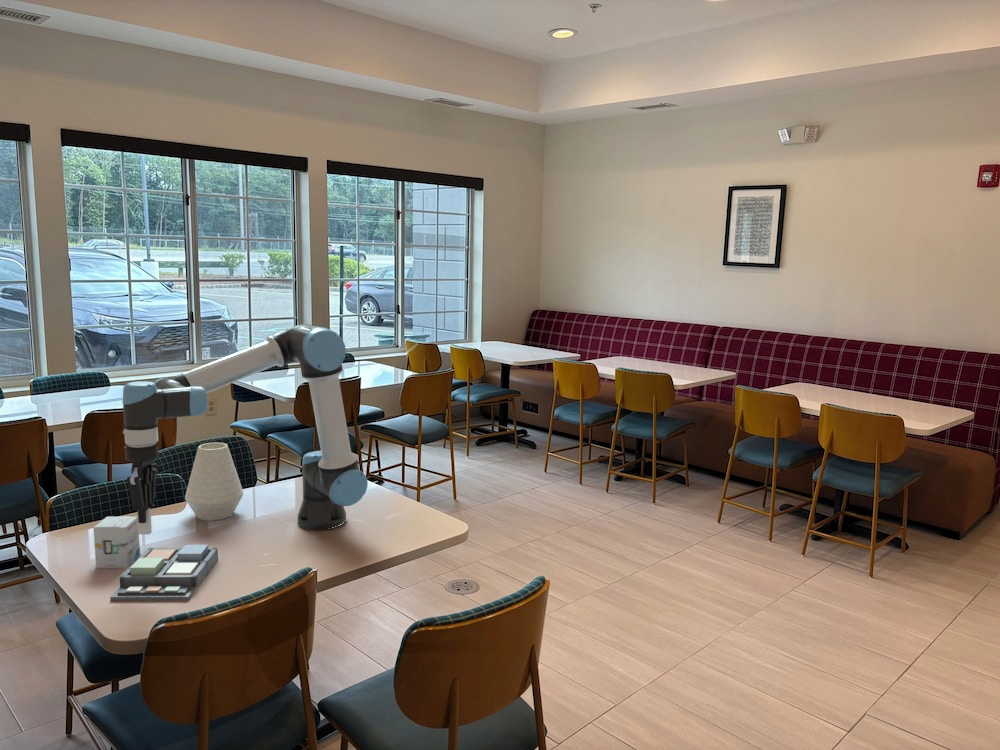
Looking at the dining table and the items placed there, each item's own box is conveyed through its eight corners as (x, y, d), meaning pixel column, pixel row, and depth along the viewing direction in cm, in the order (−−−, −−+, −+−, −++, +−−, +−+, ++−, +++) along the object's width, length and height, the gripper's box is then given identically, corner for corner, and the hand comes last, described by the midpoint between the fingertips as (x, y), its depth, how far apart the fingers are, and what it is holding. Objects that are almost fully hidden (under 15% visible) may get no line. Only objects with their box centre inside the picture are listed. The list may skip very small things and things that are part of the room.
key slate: (208, 553, 199) (208, 544, 198) (201, 562, 193) (201, 553, 192) (185, 553, 198) (185, 544, 198) (178, 562, 192) (177, 553, 192)
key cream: (198, 571, 191) (197, 562, 190) (190, 581, 185) (190, 572, 184) (174, 571, 190) (174, 562, 190) (166, 582, 184) (165, 572, 184)
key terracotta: (176, 558, 198) (175, 549, 198) (168, 567, 192) (167, 558, 192) (153, 558, 198) (153, 549, 197) (144, 567, 192) (144, 558, 191)
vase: (209, 503, 245) (207, 436, 242) (254, 509, 241) (253, 442, 237) (173, 520, 229) (170, 449, 225) (221, 527, 224) (218, 455, 221)
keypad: (218, 559, 201) (217, 547, 201) (188, 600, 178) (188, 586, 177) (149, 559, 200) (148, 547, 199) (110, 601, 176) (109, 587, 176)
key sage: (164, 566, 190) (163, 557, 189) (155, 576, 184) (154, 567, 183) (140, 566, 189) (139, 557, 189) (130, 576, 183) (130, 567, 183)
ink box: (109, 555, 202) (106, 515, 200) (141, 555, 203) (138, 515, 201) (95, 568, 194) (92, 526, 192) (128, 568, 194) (125, 527, 192)
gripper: (137, 436, 188) (140, 523, 191) (114, 450, 175) (118, 543, 179) (167, 437, 188) (169, 524, 192) (146, 450, 175) (149, 543, 179)
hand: (145, 533), depth 185 cm, fingers closed
